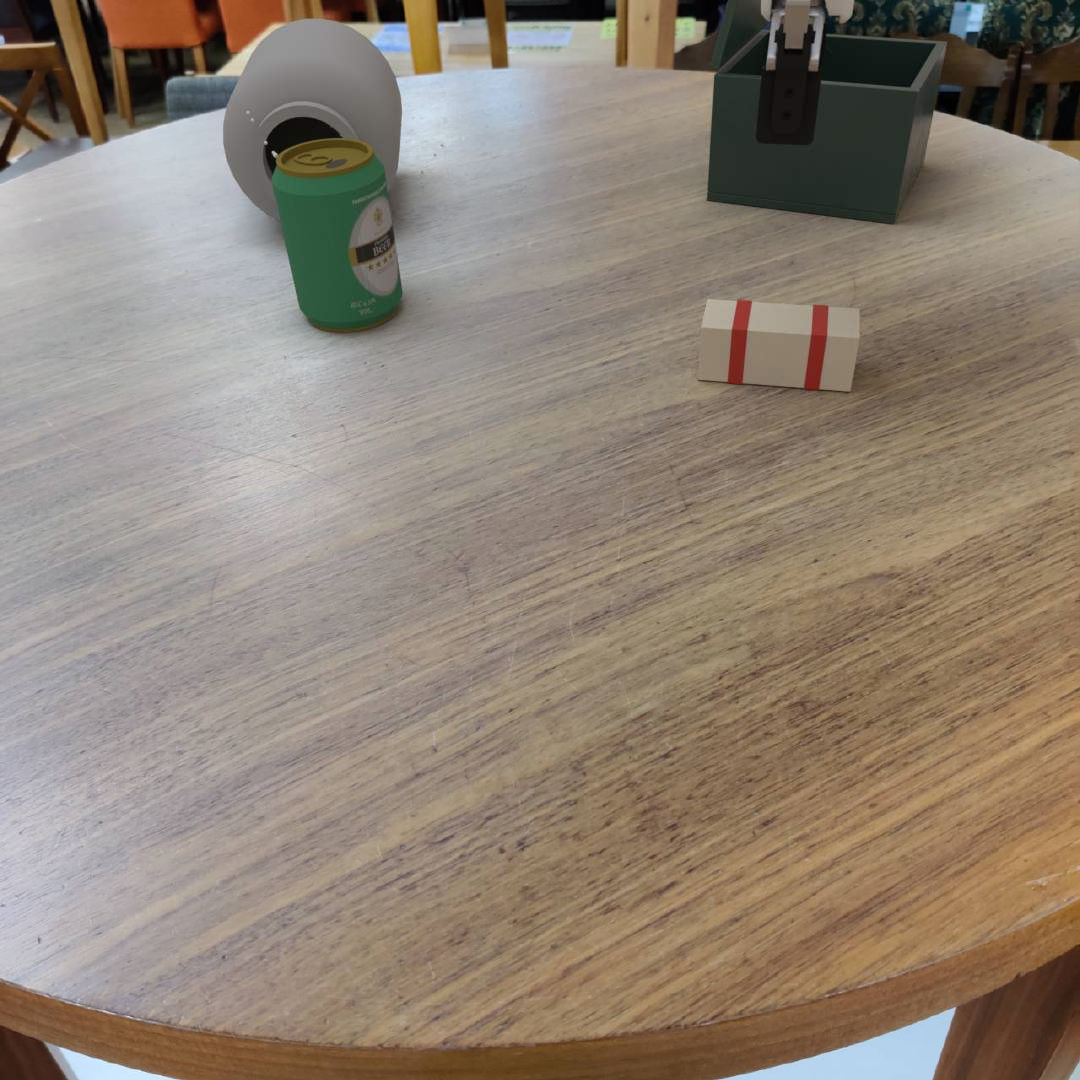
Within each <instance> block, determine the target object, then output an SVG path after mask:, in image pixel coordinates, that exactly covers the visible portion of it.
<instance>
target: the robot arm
mask: <svg viewBox="0 0 1080 1080" xmlns="http://www.w3.org/2000/svg"><path fill="white" fill-rule="evenodd" d="M854 4H855V0H761V14H762V15H763V17H764V18H765V19H766V20H768V22H769V23H771V24H770V29H769V30H770V38H769V46H768V54H767V63H766V66H763V67H762V75H761V86H760V97H759V107H758V118H757V129H756V140H757V141H758V142H759V143H762V144H786V145H809V144H811V143H812V141H813V139H814V132H815V124H816V116H817V109H818V101H819V93H820V86H821V78H822V70H823V68H822V64H823V56H824V49H825V41H826V34H828V33H827V32H828V25H829V21H826V16H827V13H828V16H829V17H830V16H831V17H832V16H833V17H838V16H839V18H838V19H839V20H838V24H845V23H846V22H847V21H849V19H851V18H852V16H853V11H854V6H855V5H854Z"/></svg>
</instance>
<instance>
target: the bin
mask: <svg viewBox="0 0 1080 1080" xmlns="http://www.w3.org/2000/svg"><path fill="white" fill-rule="evenodd" d="M770 30H771V29H762V30H761V31H760V32H759V33H758V34H757V35H756V36H754V37H753V38H752V39H751V40H750V41H749V42H748V43H747V44H746V45H745V46H744V47H743V48H742V49H740V50H739V51H738V52H737V53H736V54H735V55H734V56H733V57H732V58H731V59H730V60H729V61H728V62H726V63H725V64H724V65H723V66H722V67H721V68H720V69H719V70H717V72H715V73H714V75H713V89H712V103H711V105H712V106H711V123H710V138H709V154H708V155H709V156H708V173H707V174H708V175H707V192H706V200H707V201H712V202H719V203H726V204H735V205H740V206H741V205H742V206H749V207H759V208H765V209H773V210H774V209H775V210H780V211H789V212H797V213H805V214H811V215H821V216H827V217H829V216H830V217H836V218H845V219H852V220H859V221H867V222H875V223H883V224H891V225H895V223H896V221H897V219H898V217H899V215H900V213H901V211H902V209H903V207H904V205H905V203H906V201H907V199H908V197H909V195H910V193H911V191H912V188H913V186H914V185H915V182H916V180H917V178H918V176H919V174H920V172H921V170H922V168H923V166H924V164H925V159H926V153H927V148H928V142H929V137H930V133H931V129H932V128H931V127H932V122H933V118H934V111H935V108H936V102H937V96H938V92H939V86H940V81H941V76H942V70H943V66H944V60H945V55H946V51H947V45H948V42H947V41H945V40H943V41H941V40H929V39H928V40H927V39H912V38H911V39H910V38H897V37H883V36H882V37H879V36H867V35H866V36H865V35H849V34H835V33H826V41H825V49H824V56H823V64H822V68H823V70H822V78H821V86H820V93H819V101H818V109H817V116H816V124H815V132H814V139H813V141H812V143H811V144H809V145H786V144H762V143H759V142H758V141H757V140H756V129H757V118H758V107H759V97H760V86H761V75H762V67H763V66H766V63H767V54H768V46H769V38H770Z"/></svg>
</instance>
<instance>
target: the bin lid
mask: <svg viewBox="0 0 1080 1080" xmlns="http://www.w3.org/2000/svg"><path fill="white" fill-rule="evenodd" d="M768 22H769V21H768V20H766V19H765V18H764V17H763V15H762V14H761V0H727V3H726V6H725V10H724V15H723V18H722V21H721V25H720V28H719V32H718V36H717V39H716V43H715V47H714V51H713V54H712V57H711V58H712V59H711V62H710V66H709V67H710V68H711V69H715V70H717V71H719V70H720V69H721V68H722V67H723V66H724V65H725V64H726V63H727V62H728V61H729V60H730V59H731V58H733V57H734V56H735V55H736V54H737V53H738V52H739V51H740V50H741V49H742V48H743V47H744V46H745V45H747V44H748V43H749V42H750V41H751V40H752V39H753V38H754V37H755V36H756V35H757V34H758V33H759V32H761V31H762V30H764V29H765V28H766V26H768Z"/></svg>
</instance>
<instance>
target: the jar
mask: <svg viewBox="0 0 1080 1080" xmlns="http://www.w3.org/2000/svg"><path fill="white" fill-rule="evenodd" d="M402 120H403V105H402V96H401V91H400V88H399V84H398V81H397V78H396V75H395V73H394V71H393V68H392V67H391V65H390V63H389V61H388V60H387V58H386V57H385V55H384V54H383V53H382V51H381V50H380V49H379V47H378V46H376V45H375V44H374V43H373V42H372V41H371V40H370V39H369V38H368V37H367V36H366V35H364V34H362V33H361V32H359V31H358V30H356V29H354V28H353V27H351V26H349V25H347V24H343V23H342V22H339V21H336V20H330V19H324V18H320V17H319V18H317V17H316V18H301V19H298V20H294V21H290V22H287V23H285V24H283V25H281V26H279V27H277V28H275V29H274V30H272V31H271V32H270V33H269V34H268V35H266V36H265V37H264V38H263V39H262V40H261V41H260V42H259V43H258V44H257V45H256V48H255V49H254V50H253V51H252V53H251V54H250V56H249V58H248V60H247V62H246V64H245V66H244V68H243V70H242V72H241V74H240V76H239V78H238V81H237V82H236V84H235V87H234V89H233V91H232V93H231V94H230V98H229V100H228V102H227V104H226V107H225V112H224V118H223V124H222V144H223V145H222V146H223V149H224V155H225V158H226V163H227V165H228V167H229V169H230V170H229V171H230V172H231V174H232V177H233V179H234V180H235V182H236V184H237V186H238V187H239V188H240V190H241V191H242V193H243V194H244V195H245V196H246V197H247V198H248V199H249V200H250V201H251V203H252V204H253V205H254V206H256V207H257V208H258V209H259V210H261V212H263V213H264V214H266V215H267V216H268V217H270V218H272V219H274V220H276V221H278V222H280V218H279V213H278V209H277V204H276V200H275V195H274V191H273V186H272V177H273V174H274V171H275V168H276V166H277V164H276V158H277V156H278V155H279V154H280V153H281V152H283V151H284V150H286V149H288V148H290V147H292V146H295V145H298V144H301V143H305V142H309V141H314V140H320V139H331V138H347V139H355V140H360V141H363V142H366V143H368V144H369V145H371V147H372V148H373V153H374V154H375V155H376V156H377V158H378V159H379V160H380V161H381V163H382V164H383V165H384V169H385V176H386V183H387V190H388V193H389V192H390V190H391V188H392V186H393V184H394V181H395V178H396V176H397V175H396V174H397V172H398V168H399V160H400V153H401V152H400V150H401V134H402ZM440 147H442V148H443V147H445V145H444V143H440ZM433 157H437V153H433ZM424 173H425V171H424V170H421V171H420V174H421V175H424ZM424 186H425V184H424V183H421V184H420V187H422V188H423V187H424ZM280 223H281V222H280Z"/></svg>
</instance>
